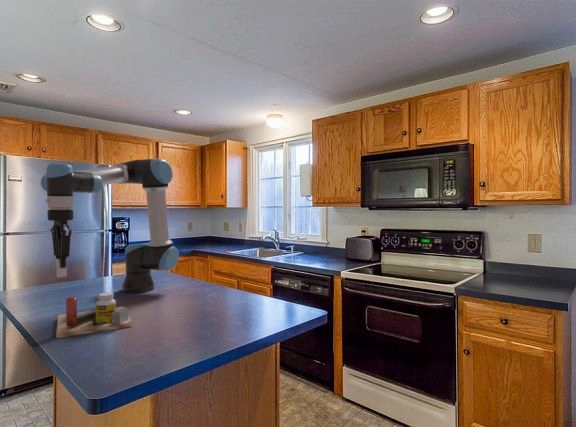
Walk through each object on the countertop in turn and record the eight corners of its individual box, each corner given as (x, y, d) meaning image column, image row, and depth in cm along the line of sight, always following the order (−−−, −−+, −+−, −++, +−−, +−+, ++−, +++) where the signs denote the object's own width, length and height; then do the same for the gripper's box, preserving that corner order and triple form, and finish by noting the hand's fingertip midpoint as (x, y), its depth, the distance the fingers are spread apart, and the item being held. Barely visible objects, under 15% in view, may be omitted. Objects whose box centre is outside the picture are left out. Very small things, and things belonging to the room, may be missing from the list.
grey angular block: (120, 323, 126) (120, 307, 126) (128, 323, 126) (128, 308, 125) (111, 328, 121) (111, 311, 121) (119, 328, 121) (119, 312, 121)
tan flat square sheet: (123, 310, 142) (123, 305, 142) (131, 326, 123) (131, 320, 123) (58, 319, 130) (58, 314, 130) (56, 338, 111) (56, 332, 111)
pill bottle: (95, 329, 120) (95, 296, 120) (96, 323, 125) (96, 292, 125) (116, 326, 123) (115, 294, 123) (115, 321, 128) (115, 291, 128)
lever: (103, 311, 132) (103, 287, 132) (110, 312, 131) (110, 288, 131) (63, 325, 116) (63, 298, 116) (71, 326, 115) (71, 299, 115)
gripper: (41, 208, 124) (43, 275, 124) (54, 209, 115) (55, 281, 116) (66, 208, 129) (67, 272, 130) (79, 209, 121) (80, 277, 122)
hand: (61, 276), depth 123 cm, fingers closed
